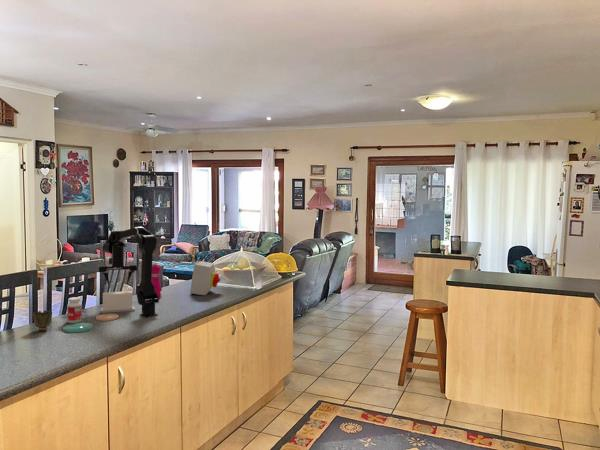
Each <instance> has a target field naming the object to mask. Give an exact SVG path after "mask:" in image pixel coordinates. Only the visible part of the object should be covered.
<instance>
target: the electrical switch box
mask: <svg viewBox="0 0 600 450" xmlns="http://www.w3.org/2000/svg"><path fill="white" fill-rule="evenodd" d="M216 272H217V271H216V266H215V263H213V262H207V261H202V260H196V262H195V263H194V265H193V272H192V277H191V283H190V290H189V294H193V295H198V296H204V295H205V296H207V294H208V293H210V291H211V290H212V288H217V286H218V283H220V282H221V277H219V276H220V275H219V273H216Z"/></svg>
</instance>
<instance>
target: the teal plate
mask: <svg viewBox="0 0 600 450" xmlns="http://www.w3.org/2000/svg"><path fill="white" fill-rule="evenodd" d="M93 328H94V325H93V324H92V323H89V322H78V323H69V324H66V325H64V326H63V327H62V332H64V333H69V334H70V333H71V334H74V333H75V334H76V333H78V334H79V333H85V332H87V331H91V330H92V329H93Z"/></svg>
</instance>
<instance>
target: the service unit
mask: <svg viewBox="0 0 600 450" xmlns="http://www.w3.org/2000/svg"><path fill="white" fill-rule="evenodd" d="M135 310H136V309H135V305H133V291H131V290H130V291H110V292H109V291H108V292H102V307H100V314H110V313H123V312H135Z"/></svg>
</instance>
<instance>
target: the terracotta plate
mask: <svg viewBox="0 0 600 450" xmlns="http://www.w3.org/2000/svg"><path fill="white" fill-rule="evenodd" d="M119 317H120V316H119V314H117V313H101V314H98V315H97V316H96V317H95V319H96V321H98V322H110V321H116V320H118V319H119Z"/></svg>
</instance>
